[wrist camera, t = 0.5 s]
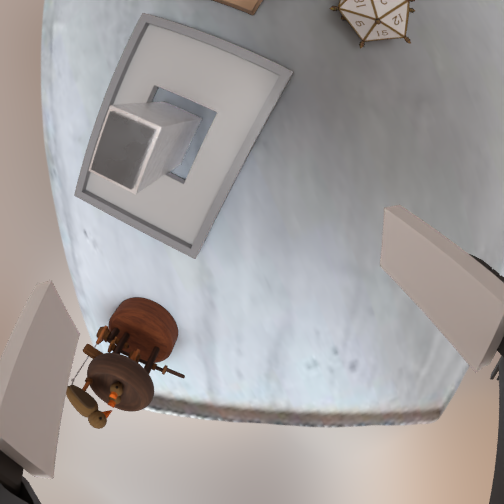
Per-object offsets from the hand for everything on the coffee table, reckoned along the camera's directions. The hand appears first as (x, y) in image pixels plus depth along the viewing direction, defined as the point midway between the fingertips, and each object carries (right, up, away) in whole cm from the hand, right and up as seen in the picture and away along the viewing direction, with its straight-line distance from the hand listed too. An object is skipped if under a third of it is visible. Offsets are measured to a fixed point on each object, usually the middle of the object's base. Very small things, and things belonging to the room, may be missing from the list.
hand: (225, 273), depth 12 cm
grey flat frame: (-8, +14, +23) cm, 28 cm away
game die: (+13, +26, +15) cm, 33 cm away
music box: (-15, -11, +36) cm, 41 cm away
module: (-8, +14, +23) cm, 28 cm away
